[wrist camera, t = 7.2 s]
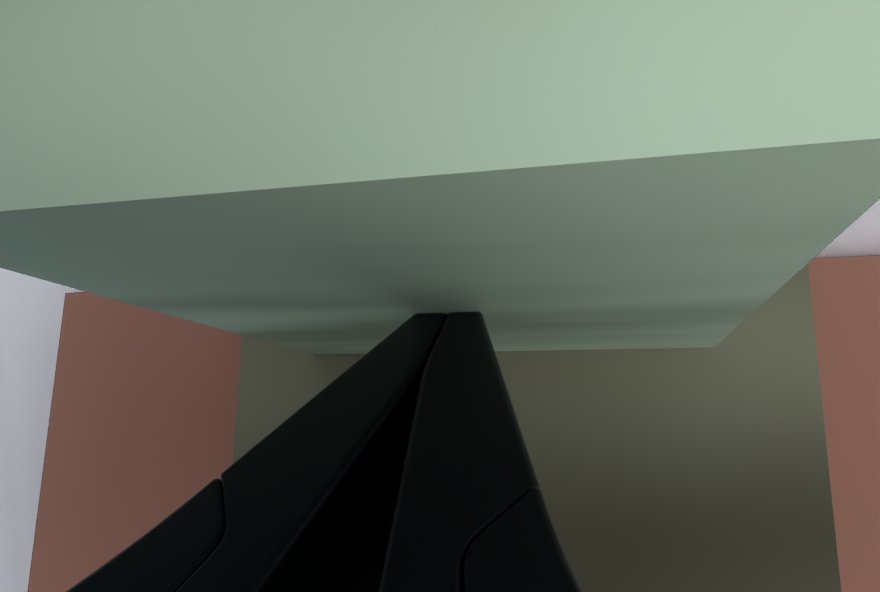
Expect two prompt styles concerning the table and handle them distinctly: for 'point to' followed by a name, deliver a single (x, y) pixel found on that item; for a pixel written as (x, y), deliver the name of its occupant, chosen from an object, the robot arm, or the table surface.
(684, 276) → the pale green block
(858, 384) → the reddish brown flat panel
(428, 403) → the robot arm
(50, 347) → the table surface
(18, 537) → the table surface
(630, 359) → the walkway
